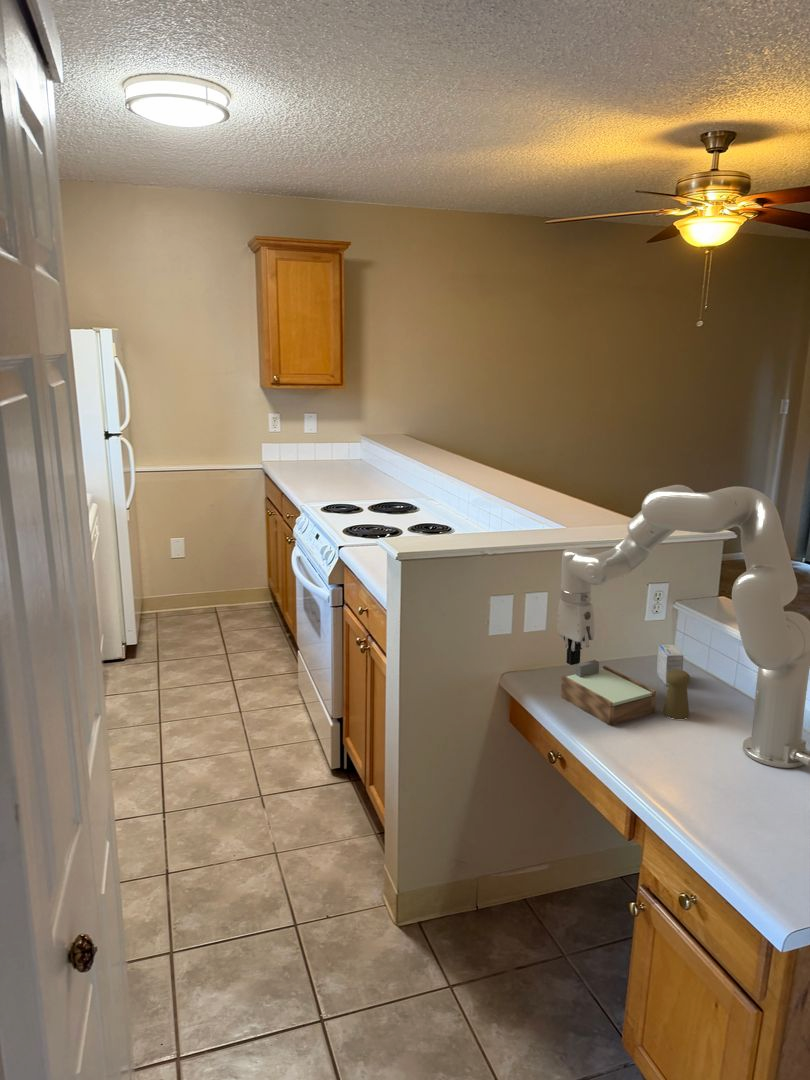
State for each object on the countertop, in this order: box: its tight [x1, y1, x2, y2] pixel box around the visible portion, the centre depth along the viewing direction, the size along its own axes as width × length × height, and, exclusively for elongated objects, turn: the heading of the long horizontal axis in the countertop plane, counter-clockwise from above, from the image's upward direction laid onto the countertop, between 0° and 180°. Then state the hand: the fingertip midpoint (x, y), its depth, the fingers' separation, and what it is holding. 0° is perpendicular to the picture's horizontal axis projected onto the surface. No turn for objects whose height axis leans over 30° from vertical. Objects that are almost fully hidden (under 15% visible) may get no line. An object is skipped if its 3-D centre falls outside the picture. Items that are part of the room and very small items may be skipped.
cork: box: [662, 670, 691, 720], centre depth 180 cm, size 6×6×11 cm
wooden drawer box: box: [560, 665, 656, 726], centre depth 187 cm, size 18×14×6 cm
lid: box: [566, 659, 652, 706], centre depth 186 cm, size 18×12×4 cm
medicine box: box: [656, 644, 684, 686], centre depth 201 cm, size 8×4×9 cm, turn 179°
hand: (573, 663), depth 197 cm, fingers closed
